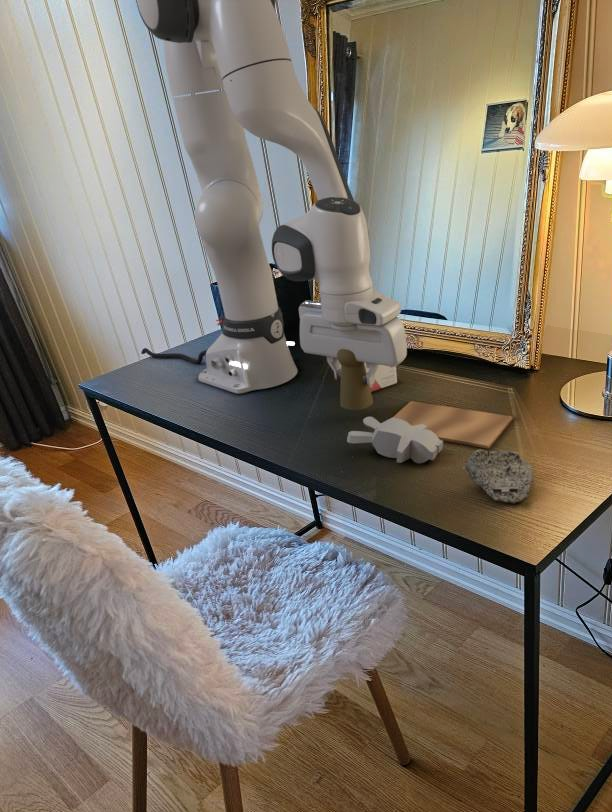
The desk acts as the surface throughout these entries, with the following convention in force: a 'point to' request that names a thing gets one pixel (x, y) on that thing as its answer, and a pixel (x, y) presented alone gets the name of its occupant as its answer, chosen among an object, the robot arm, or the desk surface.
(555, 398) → the desk surface
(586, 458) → the desk surface
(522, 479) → the rock sample
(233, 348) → the robot arm
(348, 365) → the pepper shaker
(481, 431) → the cork mat
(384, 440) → the bunny figurine
